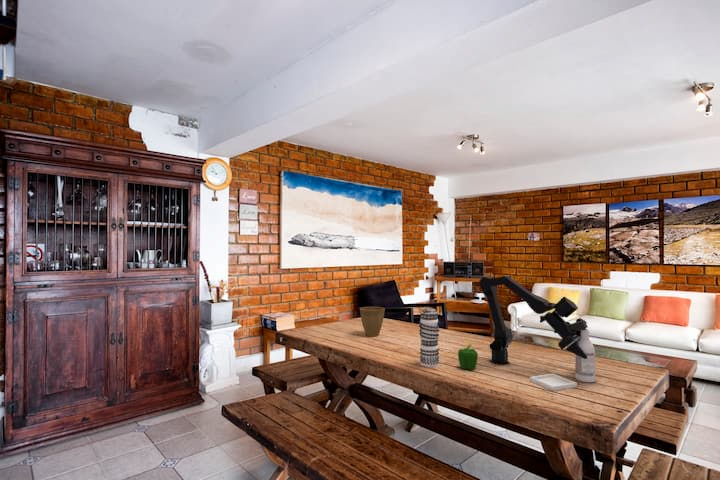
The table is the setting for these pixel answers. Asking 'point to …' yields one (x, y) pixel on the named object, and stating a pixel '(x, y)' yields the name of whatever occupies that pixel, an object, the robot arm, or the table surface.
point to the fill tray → (553, 382)
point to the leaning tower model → (429, 337)
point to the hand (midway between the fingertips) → (588, 356)
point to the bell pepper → (467, 358)
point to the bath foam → (585, 366)
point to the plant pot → (372, 320)
